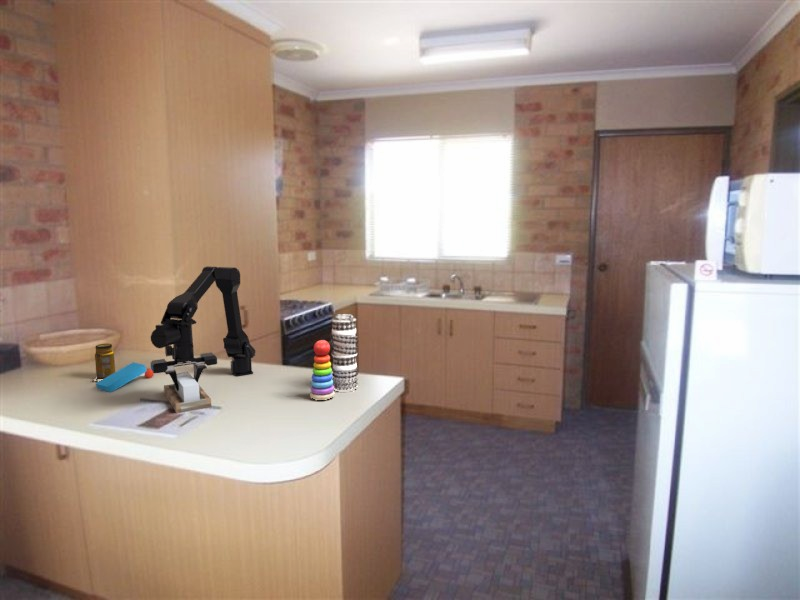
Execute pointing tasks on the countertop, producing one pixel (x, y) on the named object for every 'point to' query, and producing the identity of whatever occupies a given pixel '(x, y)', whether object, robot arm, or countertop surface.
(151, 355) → the countertop surface
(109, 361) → the condiment
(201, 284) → the robot arm
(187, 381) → the white tall block
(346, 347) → the decorative candle
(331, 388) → the stacking toy
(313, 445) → the countertop surface
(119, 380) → the lever
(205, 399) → the wooden tray
